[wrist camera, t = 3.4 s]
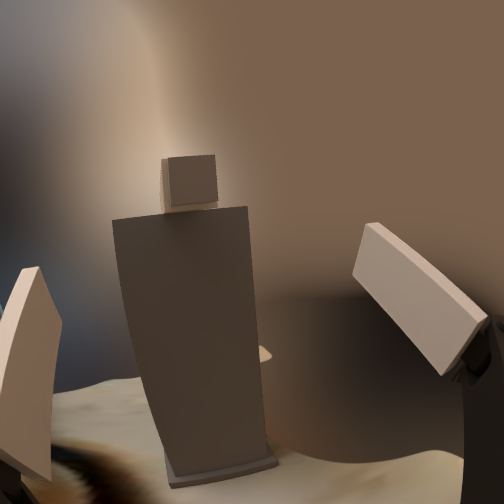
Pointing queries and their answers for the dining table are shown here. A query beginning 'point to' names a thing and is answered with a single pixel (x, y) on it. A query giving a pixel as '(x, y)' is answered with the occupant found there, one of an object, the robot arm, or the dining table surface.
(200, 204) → the beige square bar
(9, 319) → the robot arm
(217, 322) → the stand
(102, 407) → the dining table surface
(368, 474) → the dining table surface
